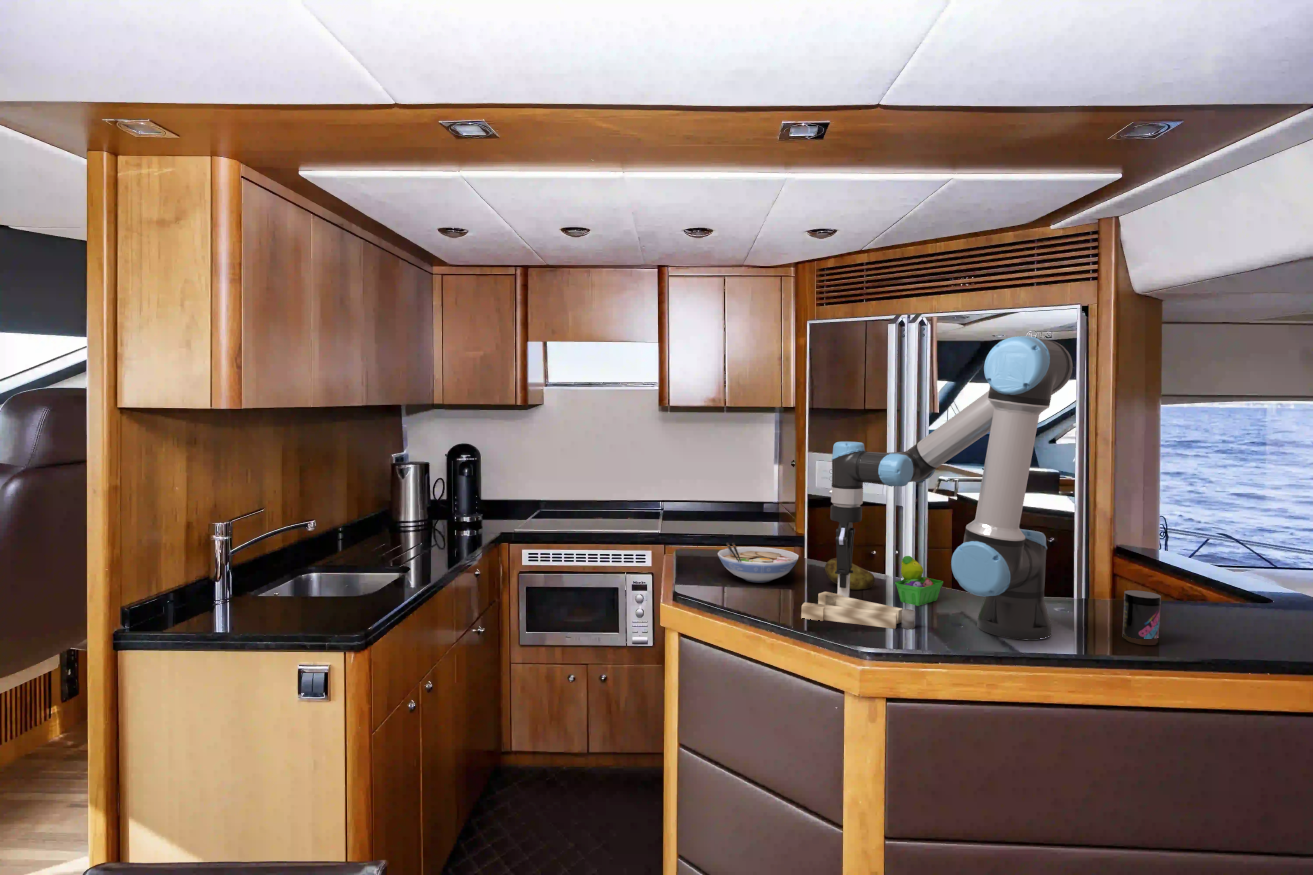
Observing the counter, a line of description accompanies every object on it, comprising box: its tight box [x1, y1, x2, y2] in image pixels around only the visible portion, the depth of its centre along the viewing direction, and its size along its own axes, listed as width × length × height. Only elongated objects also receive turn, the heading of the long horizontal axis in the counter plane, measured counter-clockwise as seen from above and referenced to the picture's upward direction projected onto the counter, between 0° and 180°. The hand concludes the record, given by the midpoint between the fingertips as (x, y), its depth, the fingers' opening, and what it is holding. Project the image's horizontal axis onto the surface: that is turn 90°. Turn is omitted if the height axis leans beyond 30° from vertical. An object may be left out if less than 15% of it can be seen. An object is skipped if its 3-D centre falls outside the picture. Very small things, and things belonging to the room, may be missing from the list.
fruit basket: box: [895, 555, 944, 607], centre depth 201 cm, size 11×9×11 cm
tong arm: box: [817, 591, 904, 624], centre depth 187 cm, size 21×3×3 cm, turn 47°
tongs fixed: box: [800, 601, 916, 630], centre depth 180 cm, size 25×5×4 cm, turn 68°
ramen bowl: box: [717, 542, 800, 584], centre depth 221 cm, size 25×23×8 cm
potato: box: [824, 557, 876, 590], centre depth 213 cm, size 8×13×8 cm, turn 64°
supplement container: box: [1122, 589, 1162, 639], centre depth 169 cm, size 7×7×10 cm
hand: (843, 599), depth 193 cm, fingers closed
